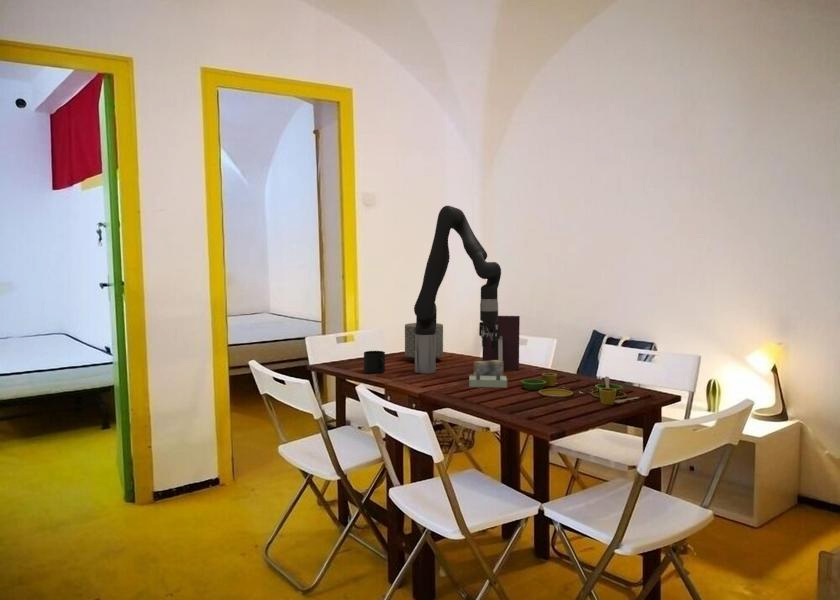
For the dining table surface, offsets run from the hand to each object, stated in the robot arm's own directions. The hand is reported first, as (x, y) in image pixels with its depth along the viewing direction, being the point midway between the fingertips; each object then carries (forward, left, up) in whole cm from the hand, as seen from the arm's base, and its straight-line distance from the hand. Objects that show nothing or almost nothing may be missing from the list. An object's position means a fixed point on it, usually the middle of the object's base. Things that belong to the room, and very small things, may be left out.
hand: (489, 348), depth 268 cm
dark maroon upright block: (+6, +20, -14) cm, 25 cm away
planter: (-31, +46, -14) cm, 57 cm away
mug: (-50, +13, -14) cm, 54 cm away
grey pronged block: (-1, -11, -14) cm, 18 cm away
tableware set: (+32, -24, -14) cm, 43 cm away
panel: (0, 0, -14) cm, 14 cm away
